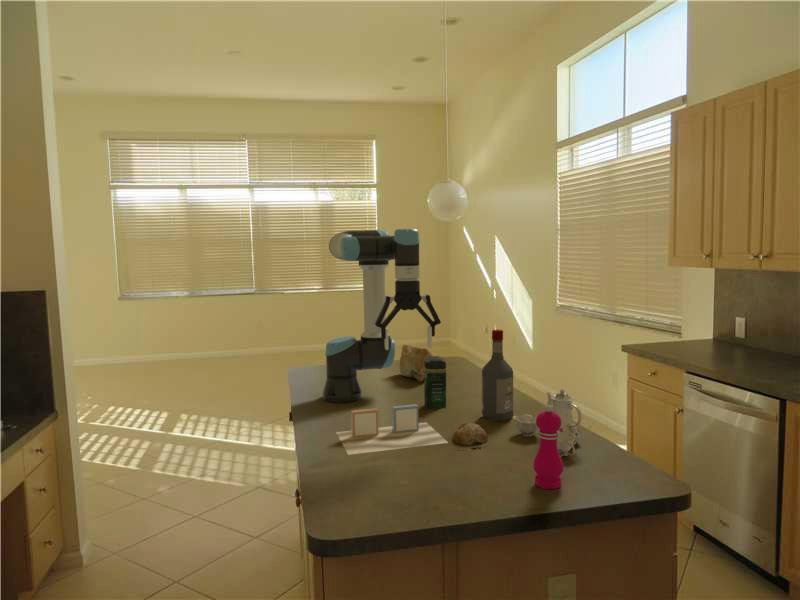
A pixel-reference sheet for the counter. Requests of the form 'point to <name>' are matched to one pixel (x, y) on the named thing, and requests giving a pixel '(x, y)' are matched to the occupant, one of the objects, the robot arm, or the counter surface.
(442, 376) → the coffee jar
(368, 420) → the pink square tile
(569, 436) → the chinaware
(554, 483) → the pepper mill
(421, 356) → the rough brown rock
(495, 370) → the liquor
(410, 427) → the tile blue
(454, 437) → the bread roll
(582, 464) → the counter surface
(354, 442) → the board
